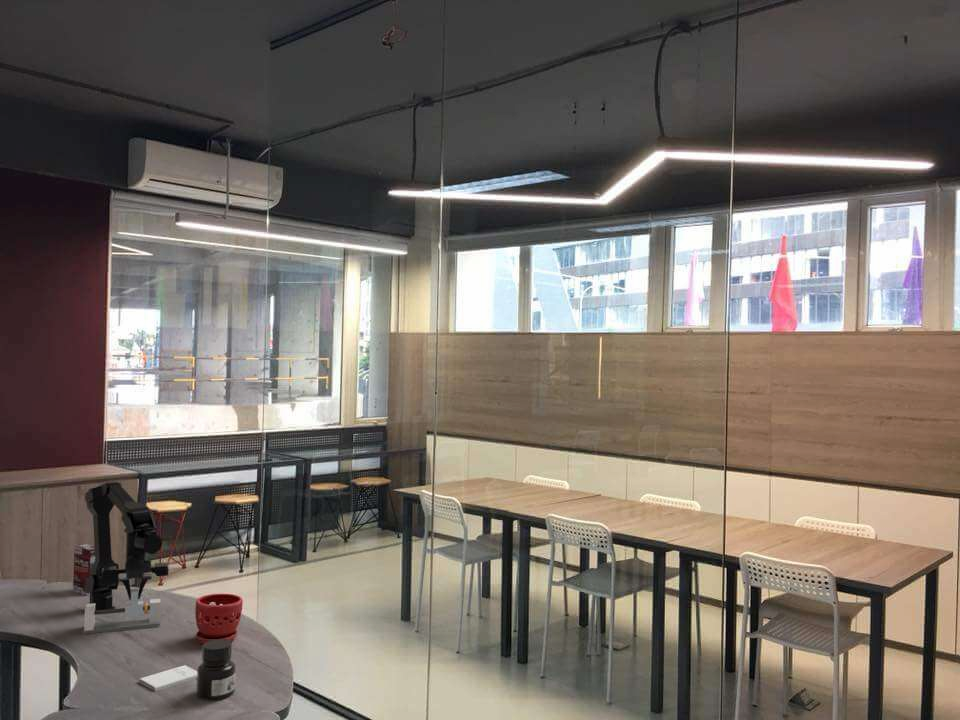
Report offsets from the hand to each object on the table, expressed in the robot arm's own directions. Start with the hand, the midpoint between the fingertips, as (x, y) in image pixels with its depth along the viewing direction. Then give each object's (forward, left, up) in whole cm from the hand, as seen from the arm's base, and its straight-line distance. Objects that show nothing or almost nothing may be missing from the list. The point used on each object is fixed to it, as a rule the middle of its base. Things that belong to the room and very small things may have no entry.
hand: (134, 599), depth 237 cm
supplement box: (-41, +19, -8) cm, 46 cm away
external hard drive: (+40, -26, -9) cm, 48 cm away
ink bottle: (+56, -28, -8) cm, 63 cm away
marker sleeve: (0, 0, -5) cm, 5 cm away
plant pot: (+31, +2, -8) cm, 32 cm away
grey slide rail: (-2, -2, -8) cm, 9 cm away
